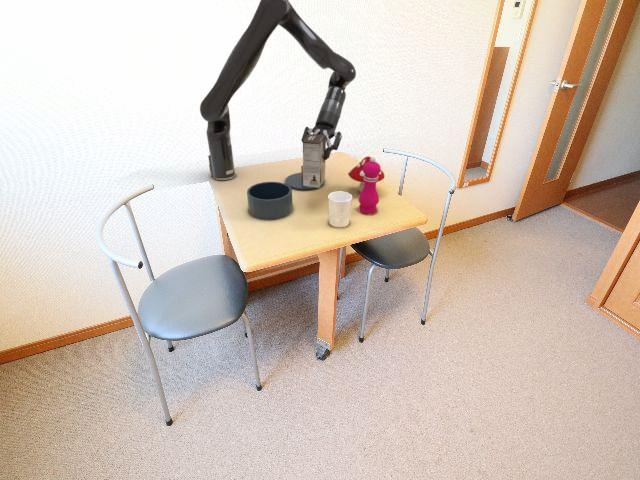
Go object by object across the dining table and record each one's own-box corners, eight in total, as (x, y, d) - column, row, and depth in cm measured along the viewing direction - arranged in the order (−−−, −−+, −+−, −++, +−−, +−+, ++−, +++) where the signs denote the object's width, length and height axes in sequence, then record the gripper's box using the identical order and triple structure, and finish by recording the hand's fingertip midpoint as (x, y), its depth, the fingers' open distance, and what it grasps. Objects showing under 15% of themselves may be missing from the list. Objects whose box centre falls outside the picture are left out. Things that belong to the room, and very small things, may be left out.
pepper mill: (356, 206, 132) (360, 153, 121) (375, 205, 132) (381, 153, 122) (359, 215, 126) (364, 161, 115) (379, 214, 126) (386, 161, 116)
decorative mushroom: (341, 195, 139) (343, 159, 131) (354, 183, 150) (356, 148, 142) (376, 203, 134) (380, 165, 126) (386, 189, 145) (390, 153, 137)
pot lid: (292, 193, 140) (291, 176, 137) (280, 177, 153) (279, 162, 149) (330, 187, 146) (331, 170, 142) (316, 172, 159) (316, 157, 155)
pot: (254, 223, 120) (252, 203, 116) (245, 203, 133) (242, 185, 128) (298, 215, 125) (297, 196, 121) (284, 197, 138) (284, 179, 133)
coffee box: (308, 176, 133) (308, 133, 124) (325, 177, 132) (326, 134, 123) (302, 186, 125) (302, 141, 116) (320, 188, 124) (321, 142, 115)
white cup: (343, 231, 117) (345, 203, 111) (323, 224, 120) (323, 197, 115) (354, 221, 122) (356, 194, 117) (334, 215, 126) (335, 189, 120)
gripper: (308, 107, 126) (293, 148, 123) (345, 112, 121) (330, 155, 118) (314, 119, 133) (300, 158, 130) (350, 124, 128) (336, 165, 125)
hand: (314, 157), depth 124 cm, fingers closed on coffee box, 7 cm apart
